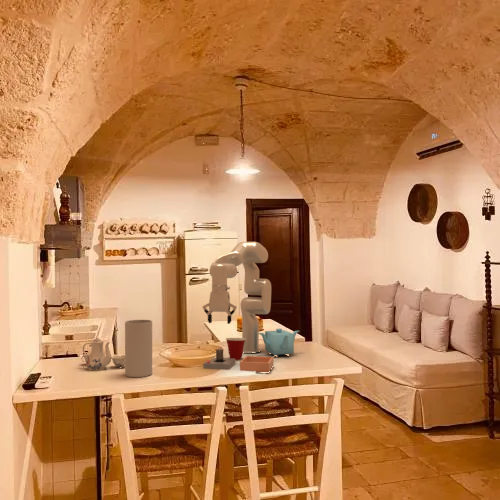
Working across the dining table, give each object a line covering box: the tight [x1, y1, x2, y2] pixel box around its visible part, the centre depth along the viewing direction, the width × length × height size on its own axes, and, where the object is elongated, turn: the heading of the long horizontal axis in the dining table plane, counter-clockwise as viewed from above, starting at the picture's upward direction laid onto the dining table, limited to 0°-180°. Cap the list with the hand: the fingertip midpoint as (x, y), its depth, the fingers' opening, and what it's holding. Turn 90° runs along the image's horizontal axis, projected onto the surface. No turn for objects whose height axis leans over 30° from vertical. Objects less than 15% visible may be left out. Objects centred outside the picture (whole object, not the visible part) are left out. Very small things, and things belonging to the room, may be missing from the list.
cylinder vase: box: [124, 319, 153, 378], centre depth 228 cm, size 12×12×25 cm
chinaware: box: [81, 336, 125, 372], centre depth 244 cm, size 28×17×17 cm, turn 74°
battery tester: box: [202, 357, 236, 371], centre depth 241 cm, size 13×13×4 cm
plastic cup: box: [225, 337, 246, 361], centre depth 258 cm, size 11×11×12 cm
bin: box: [239, 355, 275, 372], centre depth 237 cm, size 14×14×5 cm
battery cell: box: [215, 348, 224, 362], centre depth 241 cm, size 4×4×9 cm
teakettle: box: [259, 328, 300, 356], centre depth 272 cm, size 19×19×15 cm
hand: (219, 323), depth 241 cm, fingers open, 9 cm apart
